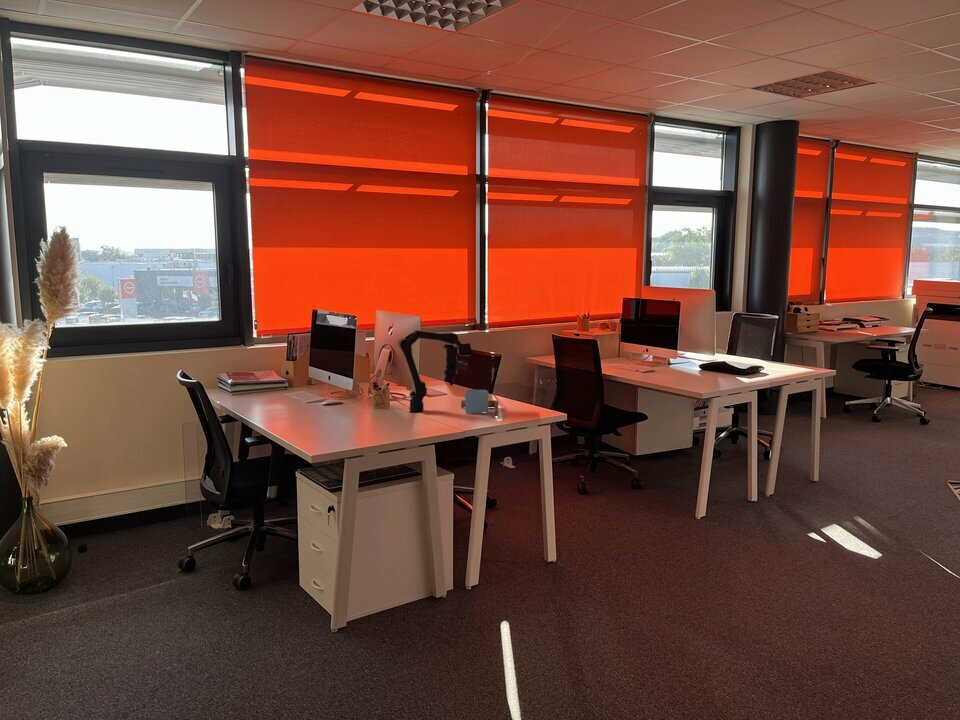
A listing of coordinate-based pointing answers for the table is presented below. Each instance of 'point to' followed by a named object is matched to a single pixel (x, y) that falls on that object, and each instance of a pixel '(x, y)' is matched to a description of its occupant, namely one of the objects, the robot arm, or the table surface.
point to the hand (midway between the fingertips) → (451, 385)
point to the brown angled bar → (490, 404)
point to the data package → (476, 401)
